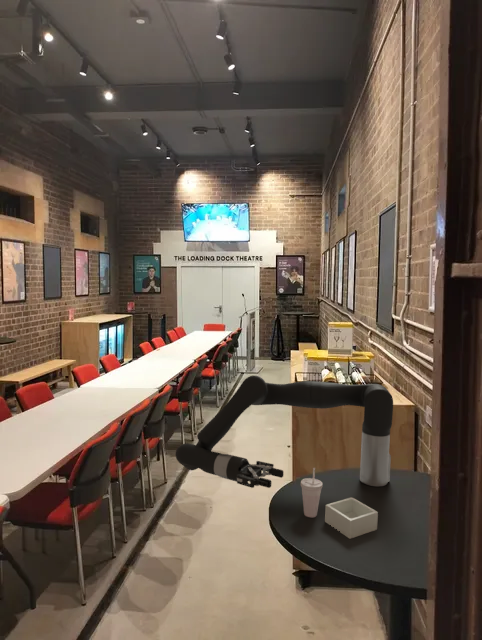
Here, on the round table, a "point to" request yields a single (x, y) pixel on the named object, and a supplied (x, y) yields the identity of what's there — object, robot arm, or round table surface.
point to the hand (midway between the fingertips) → (277, 479)
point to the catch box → (351, 517)
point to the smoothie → (311, 495)
